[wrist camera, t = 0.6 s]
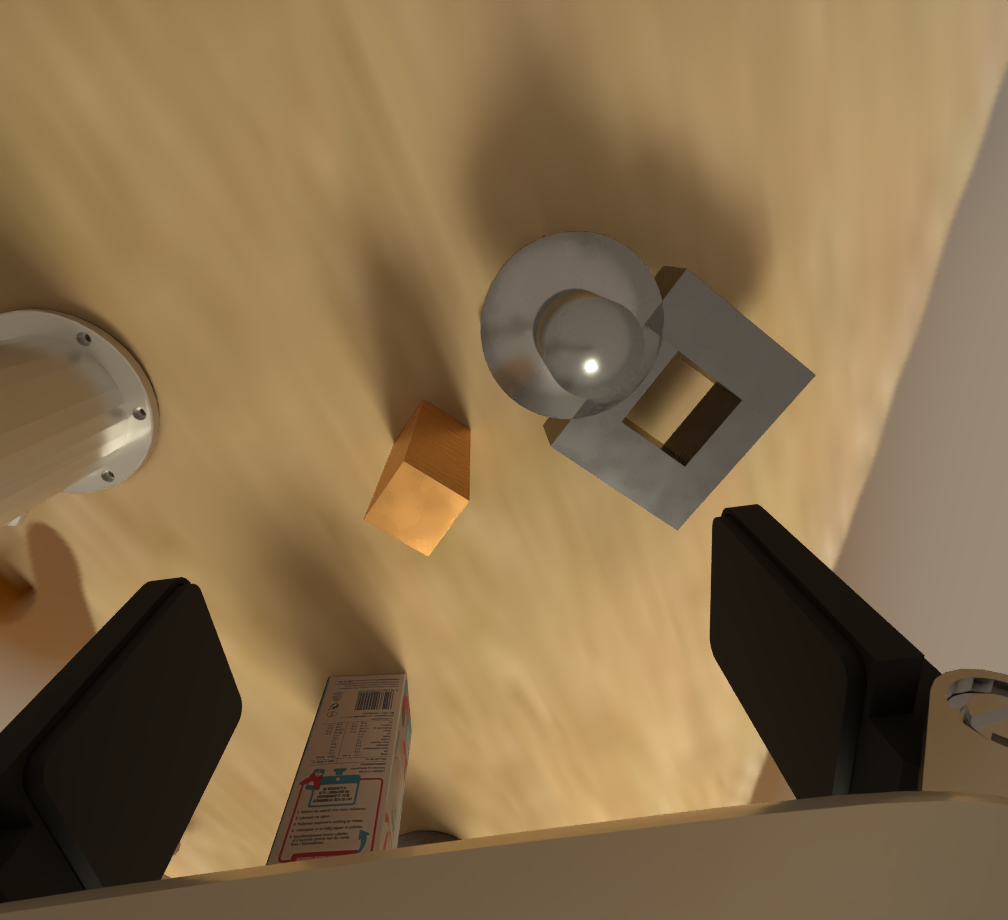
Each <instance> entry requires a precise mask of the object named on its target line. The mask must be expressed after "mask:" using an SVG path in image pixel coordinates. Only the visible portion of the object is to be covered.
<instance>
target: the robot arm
mask: <svg viewBox="0 0 1008 920" xmlns="http://www.w3.org/2000/svg"><path fill="white" fill-rule="evenodd" d="M89 336H90V337H89ZM90 338H91V339H90ZM144 411H145V412H146V413H145V412H144ZM158 433H159V411H158V406H157V401H156V397H155V394H154V392H153V389H152V387H151V384H150V381H149V380H148V378H147V376H146V375H145V373H144V371H143V370H142V368H141V366H140V365H139V364H138V362H137V361H136V360H135V359H134V358H133V356H132V355H131V354H130V353H129V352H128V351H127V349H126V348H124V347H123V346H122V345H121V344H120V343H119V342H117V341H116V340H115V339H114V338H113V337H112V336H111V335H109V334H107V333H106V332H104V331H103V330H101V329H100V328H98V327H96V326H95V325H93V324H91V323H89V322H87V321H84V320H82V319H80V318H78V317H75V316H73V315H69V314H65V313H61V312H57V311H54V310H42V309H27V310H17V311H11V312H6V313H1V314H0V528H1V527H2V526H4V525H10V526H17V525H20V524H22V523H23V522H24V520H25V518H26V516H27V514H28V512H29V510H31V509H32V508H34V507H36V506H37V505H39V504H41V503H42V502H44V501H46V500H47V499H49V498H51V497H52V496H54V495H56V494H58V493H59V492H62V493H79V494H81V493H90V492H98V491H101V490H104V489H107V488H111V487H113V486H115V485H117V484H119V483H121V482H122V481H124V480H126V479H127V478H129V477H130V476H131V475H133V474H134V473H136V472H137V471H138V470H139V469H140V468H141V467H142V466H143V465H144V464H145V462H146V461H147V460H148V459H149V457H150V455H151V453H152V451H153V449H154V447H155V445H156V441H157V437H158ZM710 644H711V649H712V652H713V655H714V657H715V659H716V661H717V663H718V665H719V666H720V668H721V670H722V672H723V673H724V675H725V677H726V679H727V680H728V682H729V684H730V685H731V687H732V689H733V691H734V692H735V694H736V696H737V697H738V699H739V701H740V703H741V704H742V706H743V708H744V709H745V711H746V713H747V715H748V716H749V718H750V720H751V721H752V723H753V725H754V727H755V728H756V730H757V732H758V733H759V735H760V737H761V739H762V740H763V742H764V744H765V746H766V747H767V749H768V751H769V752H770V754H771V756H772V757H773V759H774V761H775V762H776V764H777V766H778V768H779V770H780V771H781V773H782V775H783V776H784V778H785V780H786V782H787V783H788V785H789V787H790V788H791V790H792V792H793V794H794V795H795V797H796V799H797V800H788V801H779V802H769V803H761V804H760V803H759V804H750V805H740V806H731V807H722V808H712V809H704V810H696V811H688V812H680V813H672V814H664V815H656V816H648V817H640V818H631V819H623V820H615V821H607V822H599V823H591V824H583V825H575V826H567V827H559V828H551V829H543V830H534V831H526V832H519V833H511V834H503V835H495V836H488V837H480V838H472V839H464V840H456V841H449V842H441V843H433V844H425V845H418V846H410V847H402V848H395V849H387V850H379V851H372V852H364V853H356V854H349V855H341V856H333V857H326V858H318V859H311V860H303V861H295V862H288V863H280V864H273V865H266V866H258V867H251V868H244V869H236V870H229V871H222V872H214V873H207V874H200V875H192V876H185V877H178V878H170V879H163V880H161V878H162V876H163V874H164V872H165V870H166V868H167V866H168V864H169V862H170V860H171V858H172V856H173V854H174V852H175V850H176V848H177V846H178V844H179V842H180V840H181V838H182V836H183V834H184V832H185V830H186V828H187V826H188V824H189V822H190V820H191V817H192V815H193V813H194V811H195V809H196V807H197V805H198V803H199V801H200V799H201V797H202V795H203V793H204V791H205V789H206V787H207V785H208V783H209V781H210V779H211V777H212V775H213V773H214V771H215V769H216V767H217V765H218V763H219V761H220V759H221V757H222V755H223V752H224V750H225V748H226V746H227V744H228V742H229V740H230V738H231V736H232V734H233V732H234V730H235V728H236V726H237V724H238V722H239V720H240V717H241V712H242V701H241V697H240V694H239V691H238V689H237V686H236V683H235V681H234V678H233V675H232V672H231V670H230V667H229V664H228V662H227V659H226V656H225V654H224V651H223V648H222V646H221V643H220V640H219V638H218V635H217V632H216V629H215V627H214V624H213V621H212V619H211V616H210V613H209V611H208V608H207V605H206V603H205V600H204V597H203V594H202V592H201V590H200V588H199V587H198V586H197V585H196V584H191V583H190V582H189V581H188V580H187V579H186V578H183V577H180V578H172V579H164V580H156V581H150V582H147V583H146V584H144V585H143V586H142V587H141V588H140V589H139V590H138V591H137V592H136V593H135V594H134V595H133V596H132V597H131V598H130V600H129V601H128V602H127V603H126V604H125V605H124V606H123V607H122V608H121V609H120V610H119V611H118V612H117V613H116V614H115V615H114V616H113V617H112V618H111V619H110V620H109V621H108V622H107V623H106V624H105V625H104V626H103V627H102V628H101V629H100V630H99V631H98V633H97V634H96V635H95V636H94V637H93V638H92V639H91V640H90V641H89V642H88V643H87V644H86V645H85V646H84V647H83V648H82V649H81V650H80V651H79V652H78V653H77V654H76V655H75V657H73V658H72V659H71V660H70V662H68V664H67V665H66V666H65V667H64V668H63V669H62V670H61V671H60V672H59V673H58V674H57V675H56V676H55V677H54V678H53V679H52V680H51V681H50V682H49V683H48V684H47V685H46V686H45V687H44V688H43V689H42V690H41V691H40V692H39V693H38V694H37V696H36V697H35V698H34V699H33V700H32V701H31V702H30V703H29V704H28V705H27V706H26V707H25V708H24V709H23V710H22V711H21V712H20V713H19V714H18V715H17V716H16V717H15V718H14V719H13V720H12V721H11V722H10V723H9V724H8V725H7V726H6V728H5V729H4V730H3V731H2V732H1V733H0V920H1008V675H1006V674H1002V673H997V672H992V671H986V670H982V669H981V670H980V669H958V670H954V671H949V672H945V673H944V674H941V673H940V672H939V671H938V670H937V669H936V668H935V667H934V666H932V665H931V664H930V663H929V662H928V661H927V660H926V659H925V658H924V655H923V654H922V653H921V652H920V651H919V650H918V649H917V648H916V647H915V646H913V644H911V643H910V642H909V641H908V640H907V639H906V638H905V637H904V636H903V635H902V634H900V633H899V632H898V631H897V630H896V629H895V628H894V627H893V626H891V624H890V623H888V622H887V621H886V620H885V619H884V618H883V617H882V616H881V615H880V614H879V613H877V612H876V611H875V610H874V609H873V608H872V607H871V606H869V604H868V603H866V602H865V601H864V600H863V599H862V598H861V597H860V596H859V595H858V594H856V593H855V592H854V591H853V590H852V589H851V588H850V587H849V586H848V585H846V583H845V582H843V581H842V580H841V579H840V578H839V577H838V576H837V575H836V574H835V573H834V572H833V571H831V570H830V569H829V568H828V567H827V566H826V565H825V564H824V563H823V562H822V561H820V560H819V559H818V558H817V557H816V556H815V555H814V554H813V553H812V552H811V551H809V550H808V549H807V548H806V547H805V546H804V545H803V544H802V543H801V542H800V541H799V540H797V539H796V538H795V537H794V536H793V535H792V534H791V533H790V532H789V531H788V530H786V529H785V528H784V527H783V526H782V525H781V524H780V523H779V522H778V521H777V520H776V519H774V518H773V517H772V516H771V515H770V514H769V513H768V512H767V511H766V510H765V509H763V508H762V507H761V506H760V505H758V504H754V505H746V506H738V507H731V508H725V509H724V510H723V512H722V515H721V517H715V518H714V520H713V525H712V563H711V605H710Z"/></svg>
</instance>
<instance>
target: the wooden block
mask: <svg viewBox="0 0 1008 920" xmlns="http://www.w3.org/2000/svg"><path fill="white" fill-rule="evenodd" d="M470 434H471V430H470V429H468V428H467V427H465V426H464V425H462V424H461V423H459V422H457V421H456V420H454V419H453V418H451V417H450V416H448V415H447V414H445V413H443V412H442V411H440V410H439V409H437V408H436V407H434V406H433V405H431V404H430V403H428V402H426V401H425V400H423V401H422V403H421V404H420V406H419V407H418V409H417V410H416V412H415V413H414V415H413V416H412V418H411V419H410V421H409V422H408V424H407V425H406V427H405V428H404V430H403V431H402V432H401V434H400V435H399V437H398V438H397V440H396V441H395V443H394V445H393V447H392V450H391V452H390V455H389V457H388V460H387V462H386V465H385V467H384V470H383V472H382V475H381V477H380V480H379V482H378V485H377V487H376V490H375V492H374V495H373V497H372V500H371V502H370V505H369V507H368V510H367V512H366V515H365V517H364V520H365V521H366V522H368V523H370V524H372V525H374V526H375V527H377V528H379V529H381V530H382V531H384V532H386V533H388V534H389V535H391V536H393V537H395V538H397V539H398V540H400V541H402V542H404V543H405V544H407V545H409V546H411V547H412V548H414V549H416V550H418V551H419V552H421V553H423V554H425V555H427V556H429V555H430V553H431V552H432V551H433V549H434V548H435V547H436V545H437V544H438V543H439V541H440V540H441V538H442V537H443V536H444V534H445V533H446V532H447V530H448V529H449V528H450V526H451V525H452V524H453V522H454V521H455V520H456V518H457V517H458V516H459V514H460V513H461V512H462V510H463V509H464V507H465V506H466V505H467V503H468V502H469V493H470Z"/></svg>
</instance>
